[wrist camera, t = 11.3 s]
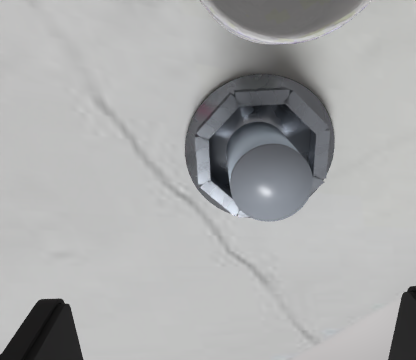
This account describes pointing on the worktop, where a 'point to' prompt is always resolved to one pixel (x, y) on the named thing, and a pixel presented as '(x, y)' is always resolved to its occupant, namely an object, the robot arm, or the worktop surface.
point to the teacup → (283, 18)
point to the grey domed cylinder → (266, 172)
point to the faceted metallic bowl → (255, 112)
